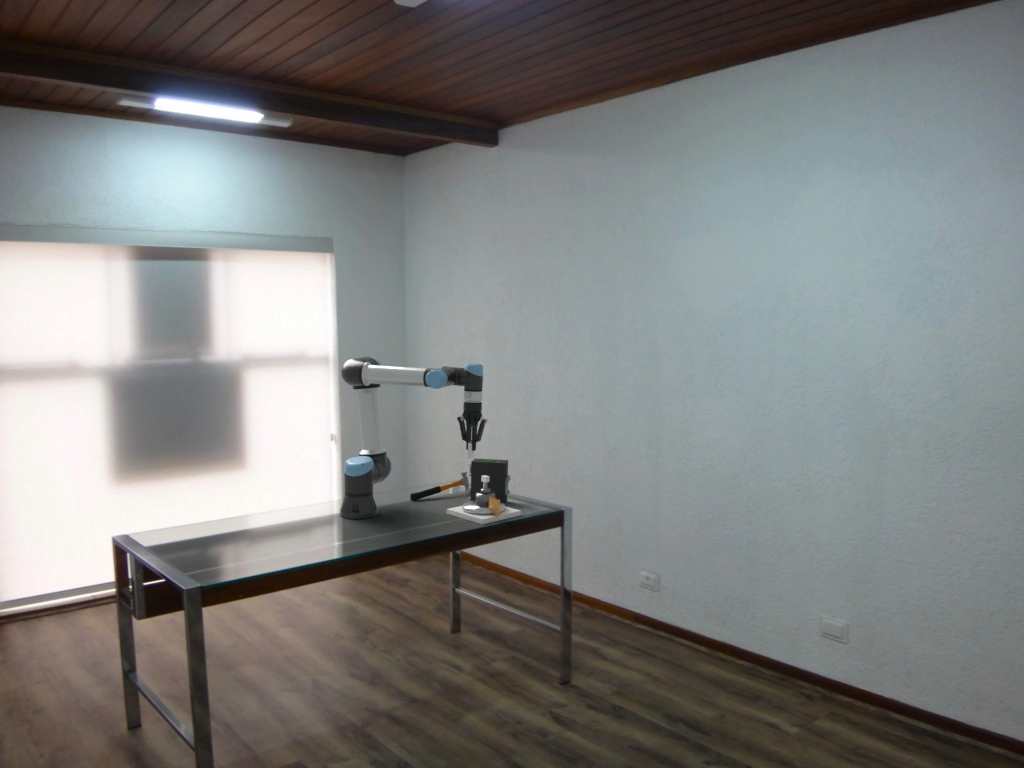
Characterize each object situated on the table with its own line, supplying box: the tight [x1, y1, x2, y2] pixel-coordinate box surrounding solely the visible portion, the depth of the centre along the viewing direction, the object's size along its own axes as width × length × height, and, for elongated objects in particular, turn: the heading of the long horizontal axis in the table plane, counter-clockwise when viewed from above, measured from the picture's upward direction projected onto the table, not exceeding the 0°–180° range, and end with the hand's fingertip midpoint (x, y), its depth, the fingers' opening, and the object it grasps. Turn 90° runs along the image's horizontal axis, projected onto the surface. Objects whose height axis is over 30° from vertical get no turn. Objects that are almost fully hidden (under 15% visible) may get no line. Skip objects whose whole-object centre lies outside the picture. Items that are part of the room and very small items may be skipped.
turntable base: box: [446, 475, 522, 525], centre depth 339 cm, size 22×22×14 cm
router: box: [467, 458, 512, 505], centre depth 360 cm, size 8×18×20 cm, turn 82°
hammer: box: [409, 470, 470, 502], centre depth 369 cm, size 11×4×30 cm
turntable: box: [461, 496, 506, 516], centre depth 337 cm, size 18×22×7 cm
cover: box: [476, 488, 495, 507], centre depth 339 cm, size 8×8×7 cm
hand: (470, 458), depth 333 cm, fingers closed
